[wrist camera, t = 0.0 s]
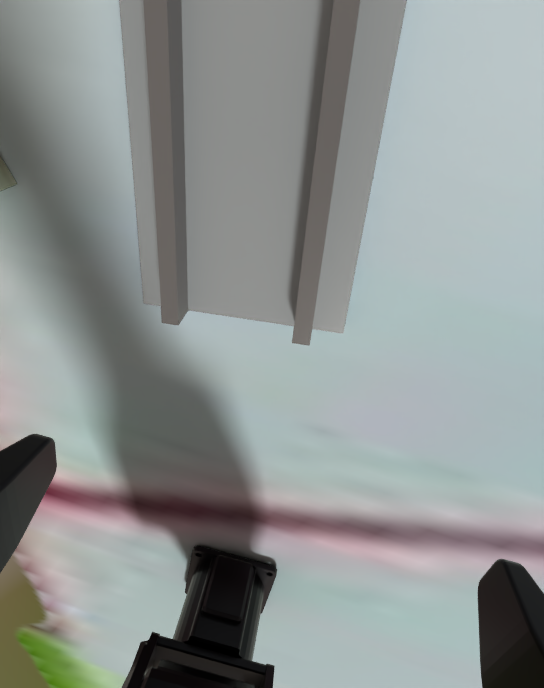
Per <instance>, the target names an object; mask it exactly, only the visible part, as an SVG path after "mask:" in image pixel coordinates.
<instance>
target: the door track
mask: <svg viewBox="0 0 544 688" xmlns="http://www.w3.org/2000/svg"><path fill="white" fill-rule="evenodd" d="M406 2H407V0H119V3H120V16H121V28H122V40H123V53H124V65H125V78H126V90H127V103H128V115H129V128H130V140H131V152H132V165H133V177H134V190H135V202H136V215H137V227H138V239H139V252H140V264H141V277H142V289H143V302H144V304H150V305H157V306H161V315H162V323H166V324H173V325H179V324H180V322H181V321H182V319H183V317H184V316H185V314H186V313H187V311H188V310H190V311H197V312H203V313H210V314H216V315H223V316H230V317H236V318H243V319H250V320H256V321H263V322H270V323H276V324H283V325H289V326H294V331H293V339H292V343H296V344H303V345H310V339H311V333H312V329H316V330H323V331H329V332H336V333H343V332H344V327H345V321H346V316H347V311H348V306H349V300H350V295H351V290H352V285H353V279H354V274H355V269H356V264H357V258H358V253H359V248H360V243H361V238H362V232H363V227H364V222H365V217H366V211H367V206H368V201H369V196H370V190H371V185H372V180H373V175H374V169H375V164H376V159H377V154H378V148H379V143H380V138H381V133H382V127H383V122H384V117H385V112H386V107H387V101H388V96H389V91H390V86H391V80H392V75H393V70H394V65H395V59H396V54H397V49H398V44H399V38H400V33H401V28H402V23H403V17H404V12H405V7H406Z"/></svg>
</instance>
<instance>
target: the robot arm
mask: <svg viewBox="0 0 544 688" xmlns="http://www.w3.org/2000/svg"><path fill="white" fill-rule="evenodd" d="M56 467H57V462H56V451H55V442H54V440H53V439H52V438H50V437H46V436H42V435H39V434H31V435H29V436H27V437H25V438H23V439H21V440H20V441H18V442H16V443H14V444H12V445H10V446H9V447H7V448H5V449H3V450H1V451H0V572H1V571H2V570H3V568H4V566H5V565H6V563H7V562H8V560H9V559H10V557H11V556H12V554H13V552H14V551H15V549H16V548H17V546H18V544H19V542H20V540H21V539H22V537H23V535H24V533H25V531H26V529H27V527H28V525H29V523H30V521H31V520H32V518H33V516H34V514H35V512H36V510H37V508H38V506H39V504H40V502H41V500H42V498H43V496H44V495H45V493H46V491H47V489H48V487H49V485H50V483H51V481H52V479H53V477H54V475H55V472H56ZM276 573H277V569H276V568H275V567H274V566H271V565H268V564H264V563H260V562H257V561H253V560H249V559H246V558H242V557H238V556H234V555H231V554H227V553H223V552H220V551H216V550H212V549H209V548H205V547H201V546H195V547H194V549H193V552H192V556H191V561H190V567H189V572H188V578H187V583H186V588H185V593H186V594H187V596H186V599H185V602H184V605H183V608H182V612H181V615H180V618H179V621H178V624H177V627H176V630H175V634H174V637H173V639H170V638H166V637H163V636H160V634H158V633H154V632H152V634H151V636H150V639H149V640H148V641H143V642H141V643H140V646H139V649H138V651H137V654H136V657H135V660H134V662H133V665H132V667H131V669H130V672H129V674H128V676H127V678H126V680H125V682H124V684H123V686H122V688H273V677H274V666H273V665H270V664H266V665H264V664H260V663H257V662H253V661H252V658H253V652H254V647H255V641H256V635H257V630H258V624H259V619H260V614H261V613H262V612H263V609H264V606H265V604H266V601H267V599H268V596H269V593H270V591H271V588H272V585H273V583H274V580H275V577H276ZM478 614H479V640H480V664H481V678H482V686H483V688H544V593H543V592H542V591H541V589H540V588H539V587H538V585H537V584H536V582H535V581H534V580H533V578H532V577H531V576H530V574H529V573H528V572H527V570H526V569H525V568H524V567H523V566H522V565H521V564H519V563H516V562H512V561H509V560H505V559H499V560H497V561H496V562H495V563H494V564H493V565H492V566H491V568H490V569H489V570H488V571H487V572H486V574H485V575H484V576H483V577H482V578H481V580H480V582H479V586H478Z"/></svg>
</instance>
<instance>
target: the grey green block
mask: <svg viewBox="0 0 544 688" xmlns="http://www.w3.org/2000/svg"><path fill="white" fill-rule="evenodd" d="M16 184H17V183H16V181H15V180H14V178H13V176H12V175H11V173H10V171H9V170H8V168H7V166H6V165H5V163H4V162H3V160H2V158H1V157H0V191H2V190H4V189H7V188H9V187H11V186H14V185H16Z"/></svg>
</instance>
